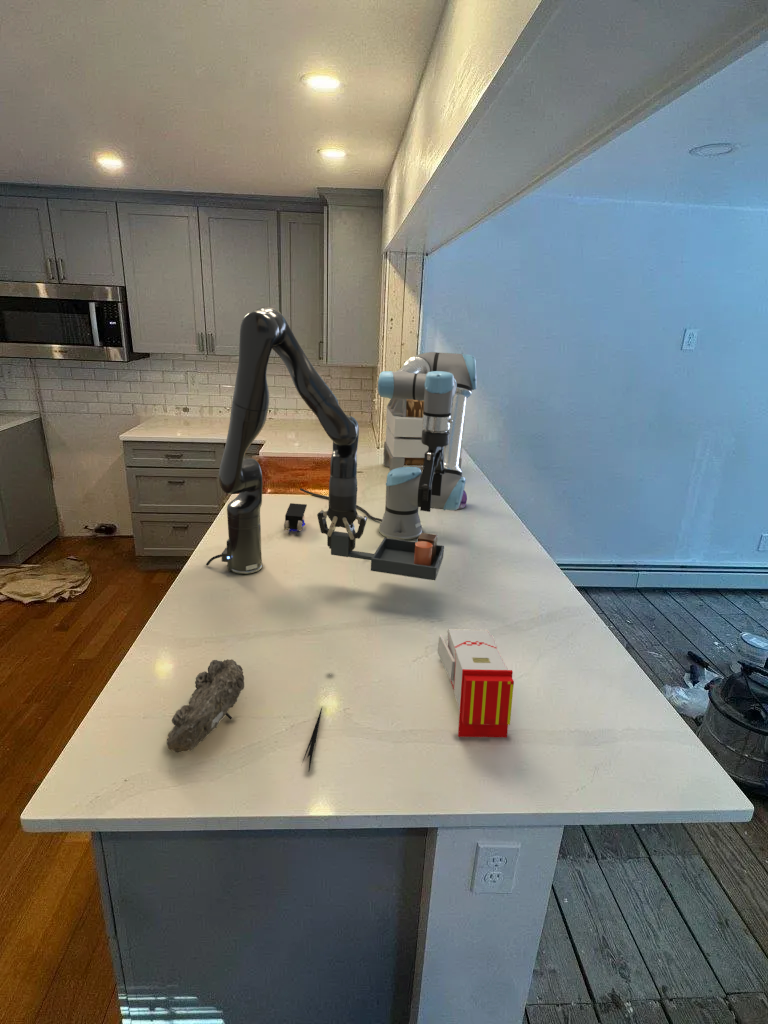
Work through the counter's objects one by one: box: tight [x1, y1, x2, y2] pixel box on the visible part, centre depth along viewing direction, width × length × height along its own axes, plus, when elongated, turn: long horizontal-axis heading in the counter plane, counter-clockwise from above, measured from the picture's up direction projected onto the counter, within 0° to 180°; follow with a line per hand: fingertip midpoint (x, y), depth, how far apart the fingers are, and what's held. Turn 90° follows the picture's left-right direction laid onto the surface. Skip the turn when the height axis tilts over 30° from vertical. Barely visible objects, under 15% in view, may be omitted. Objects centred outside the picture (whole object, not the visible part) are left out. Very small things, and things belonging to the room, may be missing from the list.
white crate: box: [383, 398, 465, 472], centre depth 268 cm, size 34×33×41 cm
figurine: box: [457, 469, 468, 510], centre depth 228 cm, size 9×10×15 cm
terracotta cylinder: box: [414, 541, 433, 566], centre depth 149 cm, size 5×5×7 cm
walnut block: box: [416, 532, 438, 564], centre depth 155 cm, size 4×4×7 cm
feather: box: [301, 673, 332, 771], centre depth 108 cm, size 2×28×2 cm
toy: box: [437, 628, 515, 738], centre depth 117 cm, size 12×13×30 cm
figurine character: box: [283, 502, 308, 536], centre depth 198 cm, size 7×8×15 cm
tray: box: [330, 530, 445, 581], centre depth 154 cm, size 30×15×6 cm, turn 77°
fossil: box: [166, 658, 245, 754], centre depth 106 cm, size 22×10×15 cm
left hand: (341, 548), depth 157 cm, fingers closed on tray, 5 cm apart
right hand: (430, 502), depth 163 cm, fingers open, 13 cm apart
